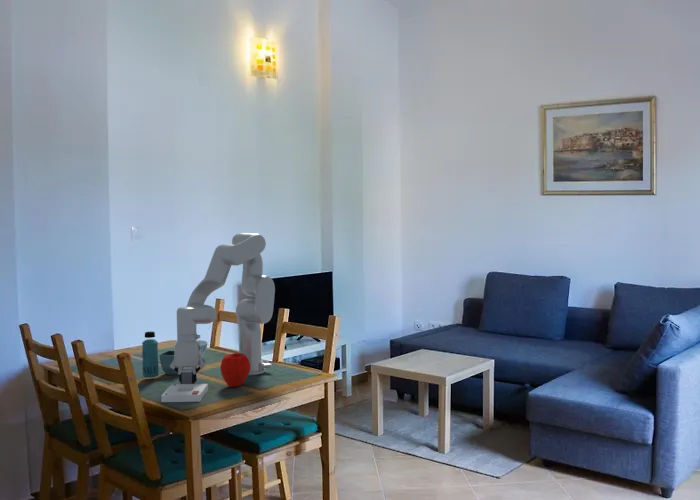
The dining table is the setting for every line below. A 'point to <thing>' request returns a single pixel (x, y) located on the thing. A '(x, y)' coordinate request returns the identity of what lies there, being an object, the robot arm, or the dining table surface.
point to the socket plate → (184, 393)
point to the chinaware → (202, 346)
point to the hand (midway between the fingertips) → (187, 383)
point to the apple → (235, 369)
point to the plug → (187, 375)
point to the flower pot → (167, 362)
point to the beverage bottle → (150, 356)
